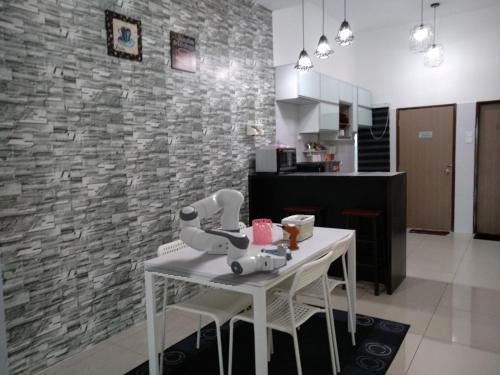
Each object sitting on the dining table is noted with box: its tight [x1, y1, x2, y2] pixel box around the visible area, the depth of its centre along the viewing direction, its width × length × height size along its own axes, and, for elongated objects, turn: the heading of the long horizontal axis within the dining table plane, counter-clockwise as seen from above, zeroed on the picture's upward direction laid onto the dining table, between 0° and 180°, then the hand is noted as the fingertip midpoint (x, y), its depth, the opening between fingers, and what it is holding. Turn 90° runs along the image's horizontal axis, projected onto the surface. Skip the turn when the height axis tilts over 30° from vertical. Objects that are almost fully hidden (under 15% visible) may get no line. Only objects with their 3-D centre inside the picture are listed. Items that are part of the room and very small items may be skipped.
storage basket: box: [281, 214, 315, 242], centre depth 273 cm, size 24×16×15 cm
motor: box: [276, 243, 288, 267], centre depth 209 cm, size 5×5×11 cm
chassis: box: [260, 247, 293, 261], centre depth 225 cm, size 18×14×4 cm
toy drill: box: [276, 224, 300, 251], centre depth 246 cm, size 5×19×15 cm, turn 44°
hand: (278, 255), depth 207 cm, fingers open, 8 cm apart
